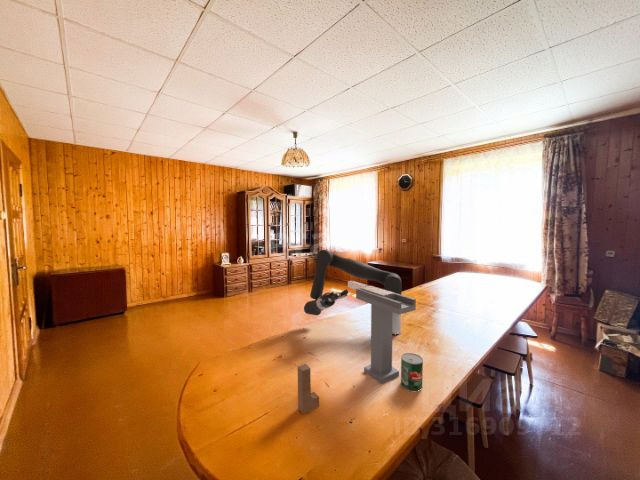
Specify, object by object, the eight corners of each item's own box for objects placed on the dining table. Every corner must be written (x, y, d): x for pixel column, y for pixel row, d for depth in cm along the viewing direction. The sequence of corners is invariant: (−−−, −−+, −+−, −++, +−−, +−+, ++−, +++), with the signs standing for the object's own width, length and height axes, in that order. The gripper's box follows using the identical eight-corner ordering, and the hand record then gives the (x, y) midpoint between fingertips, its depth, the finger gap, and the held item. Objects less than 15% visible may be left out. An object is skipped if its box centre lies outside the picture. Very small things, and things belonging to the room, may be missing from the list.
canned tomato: (405, 376, 107) (405, 350, 106) (425, 384, 102) (425, 357, 101) (397, 386, 100) (397, 358, 100) (418, 395, 95) (418, 366, 95)
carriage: (344, 287, 123) (344, 281, 123) (354, 286, 126) (354, 280, 126) (383, 301, 102) (383, 293, 102) (394, 299, 105) (394, 291, 105)
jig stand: (355, 365, 116) (355, 288, 113) (372, 358, 121) (372, 285, 119) (396, 395, 95) (398, 303, 93) (415, 386, 100) (416, 298, 98)
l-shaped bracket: (302, 414, 86) (302, 370, 85) (297, 408, 89) (297, 366, 88) (319, 406, 90) (318, 364, 89) (314, 401, 93) (313, 360, 91)
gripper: (312, 296, 142) (326, 287, 129) (334, 292, 149) (349, 283, 136) (316, 310, 139) (330, 302, 126) (338, 305, 146) (354, 297, 134)
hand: (340, 292), depth 131 cm, fingers open, 8 cm apart
